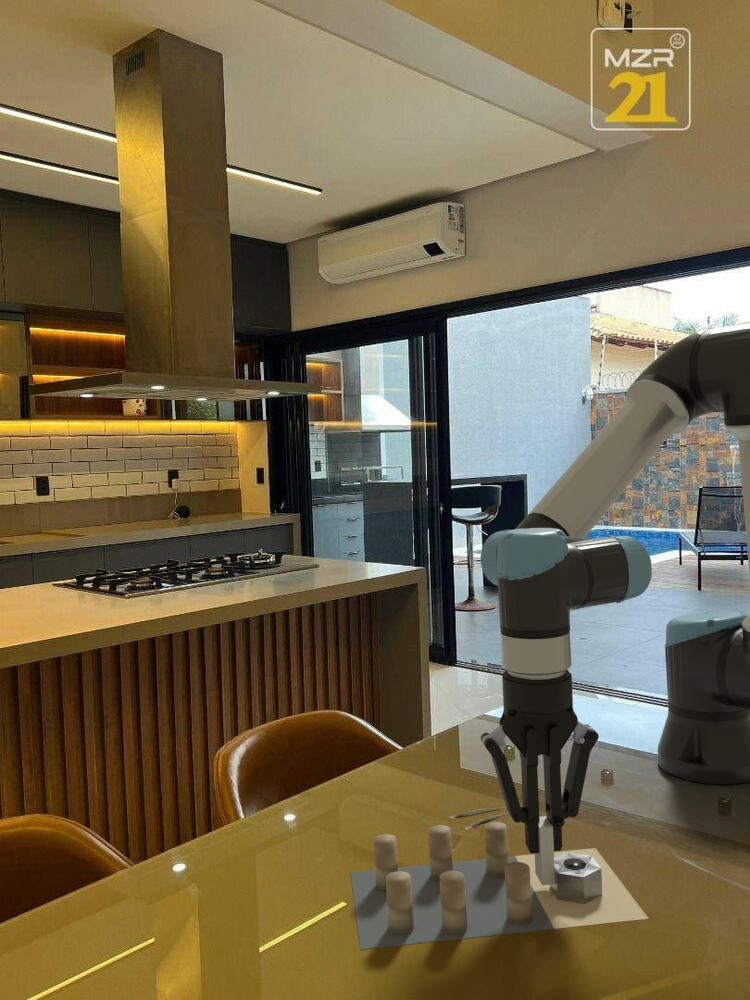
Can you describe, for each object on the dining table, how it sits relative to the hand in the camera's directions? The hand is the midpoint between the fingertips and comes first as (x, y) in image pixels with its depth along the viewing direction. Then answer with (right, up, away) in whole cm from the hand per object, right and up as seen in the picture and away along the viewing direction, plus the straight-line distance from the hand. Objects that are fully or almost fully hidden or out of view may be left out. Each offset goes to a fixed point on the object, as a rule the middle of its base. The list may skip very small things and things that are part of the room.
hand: (545, 878), depth 96 cm
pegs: (-11, -2, -1) cm, 11 cm away
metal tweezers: (-1, -2, +22) cm, 22 cm away
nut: (+3, -1, 0) cm, 4 cm away
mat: (-6, -2, 0) cm, 7 cm away
